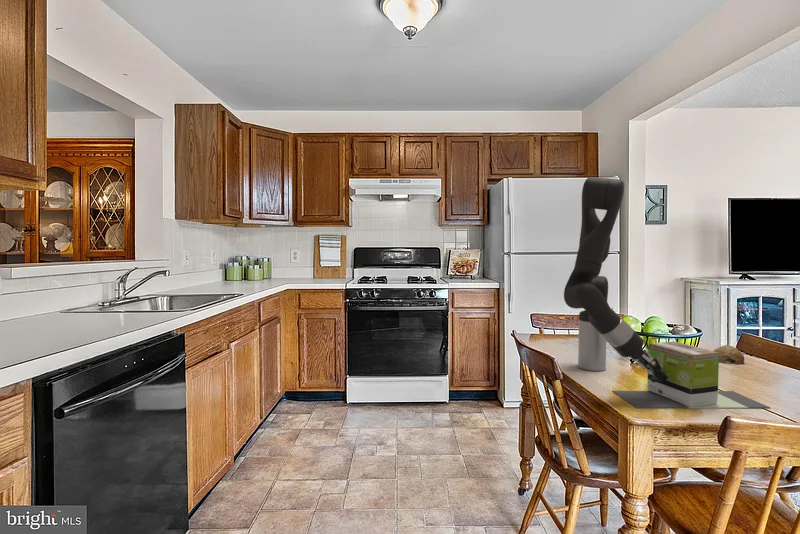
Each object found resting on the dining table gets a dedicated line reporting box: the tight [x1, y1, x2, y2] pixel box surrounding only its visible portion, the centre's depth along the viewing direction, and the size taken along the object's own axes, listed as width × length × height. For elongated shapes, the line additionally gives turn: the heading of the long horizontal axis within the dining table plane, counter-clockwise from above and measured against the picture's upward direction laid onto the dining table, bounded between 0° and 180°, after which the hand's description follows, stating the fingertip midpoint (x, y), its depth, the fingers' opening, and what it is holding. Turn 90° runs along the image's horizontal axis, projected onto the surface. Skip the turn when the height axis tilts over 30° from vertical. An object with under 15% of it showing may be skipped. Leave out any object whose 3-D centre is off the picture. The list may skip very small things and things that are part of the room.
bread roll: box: [713, 344, 745, 365], centre depth 173 cm, size 10×10×8 cm
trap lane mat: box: [612, 390, 771, 410], centre depth 129 cm, size 14×36×1 cm, turn 90°
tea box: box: [647, 341, 720, 407], centre depth 129 cm, size 15×10×15 cm, turn 16°
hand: (663, 379), depth 129 cm, fingers closed
